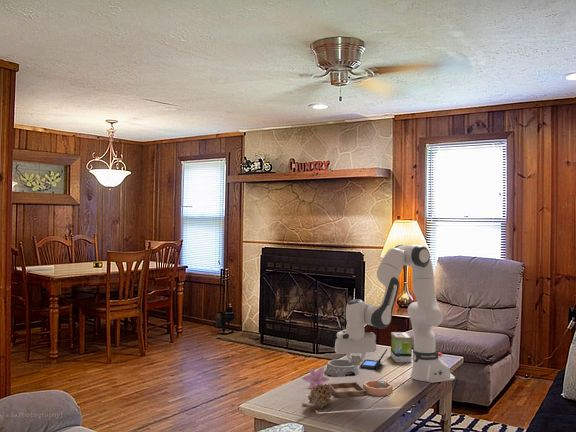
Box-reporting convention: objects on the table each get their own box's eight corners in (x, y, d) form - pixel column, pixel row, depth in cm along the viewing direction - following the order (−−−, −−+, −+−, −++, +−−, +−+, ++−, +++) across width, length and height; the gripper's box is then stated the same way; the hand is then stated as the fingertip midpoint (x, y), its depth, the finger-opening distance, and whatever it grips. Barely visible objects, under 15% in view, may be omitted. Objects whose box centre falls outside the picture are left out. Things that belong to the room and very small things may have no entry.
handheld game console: (365, 361, 307) (365, 345, 307) (387, 364, 303) (388, 347, 303) (359, 368, 293) (359, 352, 293) (383, 371, 288) (383, 354, 288)
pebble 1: (358, 362, 255) (358, 354, 255) (361, 365, 251) (361, 356, 251) (350, 363, 255) (350, 355, 255) (353, 365, 251) (353, 357, 251)
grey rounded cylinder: (384, 388, 254) (384, 380, 254) (387, 391, 250) (387, 383, 250) (376, 389, 253) (376, 381, 253) (379, 392, 249) (379, 383, 249)
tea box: (412, 362, 305) (412, 337, 305) (394, 362, 305) (395, 337, 305) (406, 355, 320) (406, 331, 320) (390, 355, 320) (390, 331, 320)
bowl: (385, 387, 259) (385, 379, 259) (395, 396, 246) (395, 388, 246) (360, 389, 256) (360, 381, 257) (369, 397, 244) (369, 389, 244)
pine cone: (316, 400, 240) (316, 378, 240) (335, 404, 235) (336, 382, 235) (294, 416, 220) (295, 392, 220) (315, 420, 216) (315, 396, 216)
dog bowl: (320, 370, 290) (320, 360, 290) (349, 366, 297) (349, 357, 297) (334, 378, 274) (334, 368, 274) (365, 374, 281) (365, 364, 281)
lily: (299, 389, 259) (300, 375, 254) (311, 375, 267) (313, 361, 263) (319, 401, 253) (321, 386, 248) (332, 386, 262) (333, 372, 257)
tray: (356, 387, 259) (356, 382, 259) (366, 396, 245) (366, 390, 245) (328, 389, 256) (328, 383, 256) (336, 398, 242) (336, 392, 242)
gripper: (373, 330, 258) (374, 358, 258) (333, 333, 254) (334, 361, 254) (378, 333, 252) (378, 362, 252) (337, 336, 248) (337, 365, 248)
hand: (355, 362), depth 253 cm, fingers closed on pebble 1, 4 cm apart
